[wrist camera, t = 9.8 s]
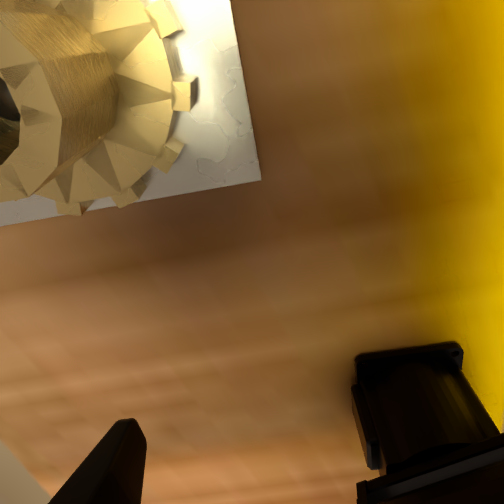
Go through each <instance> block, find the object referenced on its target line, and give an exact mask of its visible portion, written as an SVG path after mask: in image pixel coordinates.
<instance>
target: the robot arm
mask: <svg viewBox="0 0 504 504" xmlns="http://www.w3.org/2000/svg"><path fill="white" fill-rule="evenodd" d="M453 351H454V352H453ZM463 354H464V352H463V349H462V348H461V346H460V345H459V344H457V343H450V344H443V345H435V346H428V347H420V348H413V349H405V350H398V351H390V352H383V353H375V354H368V355H362V356H359V357H357V358H356V359H355V373H356V384H353V385H352V387H351V397H352V410H353V415H354V418H355V422H356V426H357V430H358V433H359V437H360V441H361V444H362V448H363V452H364V456H365V459H366V463H367V467H369V468H370V469H371V470H379V473H380V476H381V477H378V478H375V479H372V480H369V481H366V480H364V481H361V482H358V483H356V486H357V498H358V499H357V504H504V433H501V434H500V432H499V430H498V429H497V427H496V426H495V424H494V422H493V421H492V419H491V417H490V416H489V414H488V413H487V411H486V409H485V408H484V406H483V405H482V403H481V401H480V400H479V398H478V397H477V395H476V393H475V392H474V390H473V388H472V387H471V385H470V384H469V382H468V380H467V379H466V377H465V376H464V374H463V372H462V371H461V370H462V362H463ZM362 363H364V364H362ZM146 450H147V443H146V438H145V436H144V434H143V432H142V430H141V428H140V426H139V424H138V422H137V421H136V420H135V419H134V418H129V419H121V420H118V421H117V422H116V423H115V424H114V425H113V426H112V427H111V428H110V430H109V431H108V432H107V433H106V434H105V436H104V437H103V438H102V439H101V440H100V442H99V443H98V444H97V445H96V446H95V448H94V449H93V450H92V451H91V452H90V454H89V455H88V456H87V457H86V458H85V460H84V461H83V462H82V463H81V464H80V466H79V467H78V468H77V469H76V470H75V472H74V473H73V474H72V475H71V476H70V478H69V479H68V480H67V481H66V482H65V484H64V485H63V486H62V487H61V488H60V490H59V491H58V492H57V493H56V494H55V496H54V497H53V498H52V499H51V500H50V502H49V503H48V504H141V496H142V487H143V478H144V469H145V459H146Z"/></svg>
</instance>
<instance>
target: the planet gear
mask: <svg viewBox="0 0 504 504" xmlns="http://www.w3.org/2000/svg"><path fill="white" fill-rule="evenodd" d="M183 30H184V29H183V27H182V25H181V23H180V21H179V19H178V17H177V15H176V13H175V11H174V8H173V6H172V4H171V2H170V1H168V0H158V1H156V2H154V3H153V4H150V3H149V2H148V0H0V77H1V78H2V79H3V80H4V81H5V83H6V85H7V87H8V89H9V91H10V93H11V96H12V98H13V100H14V102H15V104H16V106H17V109H18V111H19V113H20V115H21V117H20V121H10V120H7V119H5V118H3V117H1V116H0V203H1V202H6V201H12V200H14V201H18V200H19V199H23V198H28V197H30V196H31V195H33V194H36V195H39V196H42V197H46V198H49V199H52V200H55V202H56V208H57V213H58V214H65V215H79V216H82V214H83V213H84V212H85V211H86V210H87V209H88V208H89V207H90V206H91V205H92V203H93V202H94V201H93V200H94V199H100V198H105V197H111V198H112V200H113V201H114V202H115V204H116V205H117V207H118V208H119V209H120V208H122V207H124V206H127V205H129V204H131V203H133V202H135V201H137V200H139V199H140V197H141V196H142V194H143V193H144V191H145V190H146V188H147V186H146V185H145V183H144V181H143V180H142V178H141V177H142V176H143V175H144V174H145V173H146V172H147V171H148V170H149V169H150V168H151V167H152V166H154V167H156V168H158V169H159V170H161V171H162V172H164V173H166V174H167V173H168V172H169V170H170V168H171V167H172V165H173V163H174V162H175V160H176V158H177V157H178V155H179V153H180V151H181V150H182V148H183V146H184V144H183V143H182V142H180V141H179V140H177V139H175V138H174V137H172V133H173V129H174V125H175V121H176V117H177V113H178V111H187V112H190V111H191V110H192V109H193V107H194V106H195V78H184V77H179V73H178V69H177V65H176V61H175V58H174V54H173V50H172V46H171V42H170V37H172V36H174V35H176V34H177V33H179V32H181V31H183Z"/></svg>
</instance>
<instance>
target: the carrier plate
mask: <svg viewBox="0 0 504 504" xmlns="http://www.w3.org/2000/svg"><path fill="white" fill-rule="evenodd" d="M156 1H158V0H148V2H149V3H150V4H153V3H154V2H156ZM168 1H170V2H171V4H172V6H173V8H174V11H175V13H176V15H177V17H178V19H179V21H180V23H181V25H182V27H183V29H184V30H183V31H181V32H179V33H177V34H176V35H174V36H172V37H170V42H171V46H172V50H173V54H174V58H175V61H176V65H177V69H178V73H179V77H184V78H195V106H194V107H193V109H192V110H191V111H190V112H187V111H178V113H177V117H176V121H175V125H174V129H173V133H172V137H174V138H175V139H177V140H179V141H180V142H182V143H183V144H184V146H183V148H182V150H181V151H180V153H179V155H178V157H177V158H176V160H175V162H174V163H173V165H172V167H171V168H170V170H169V172H168V173H167V174H166V173H164V172H162V171H161V170H159V169H158V168H156V167H154V166H152V167H151V168H150V169H149V170H148V171H147V172H146V173H145V174H144V175H143V176H142V177H141V178H142V180H143V181H144V183H145V185H146V186H147V188H146V190H145V191H144V193H143V194H142V196H141V197H140V199H139V200H137V201H135V202H140V201H146V200H152V199H157V198H163V197H169V196H174V195H180V194H186V193H191V192H197V191H203V190H208V189H214V188H219V187H225V186H231V185H236V184H242V183H248V182H253V181H259V180H261V170H260V164H259V159H258V153H257V147H256V142H255V136H254V131H253V125H252V119H251V114H250V108H249V102H248V97H247V91H246V85H245V80H244V74H243V69H242V63H241V57H240V52H239V46H238V40H237V35H236V29H235V23H234V18H233V12H232V7H231V1H230V0H168ZM0 116H1V117H3V118H5V119H7V120H10V121H20V117H21V115H20V113H19V111H18V109H17V106H16V104H15V102H14V100H13V98H12V96H11V93H10V91H9V89H8V87H7V85H6V83H5V81H4V80H3V79H2V78H1V77H0ZM93 201H94V202H93V203H92V205H91V206H90V207H89V208H88V209H87V210H86V211H90V210H95V209H101V208H107V207H112V206H117V205H116V204H115V202H114V201H113V200H112V198H111V197H105V198H100V199H94V200H93ZM135 202H133V203H135ZM61 215H65V214H58V213H57V208H56V202H55V200H52V199H49V198H46V197H42V196H39V195H36V194H33V195H31V196H30V197H28V198H23V199H19V200H18V201H14V200H12V201H6V202H1V203H0V226H5V225H11V224H16V223H22V222H28V221H33V220H39V219H44V218H50V217H56V216H61Z"/></svg>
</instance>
